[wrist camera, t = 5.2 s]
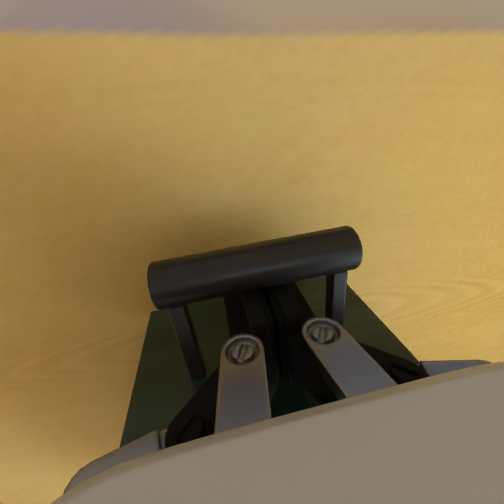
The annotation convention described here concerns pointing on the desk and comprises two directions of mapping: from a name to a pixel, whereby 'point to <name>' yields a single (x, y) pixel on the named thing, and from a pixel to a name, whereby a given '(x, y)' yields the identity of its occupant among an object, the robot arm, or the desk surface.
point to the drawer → (215, 320)
